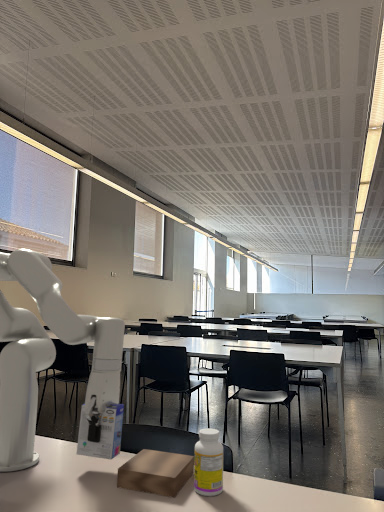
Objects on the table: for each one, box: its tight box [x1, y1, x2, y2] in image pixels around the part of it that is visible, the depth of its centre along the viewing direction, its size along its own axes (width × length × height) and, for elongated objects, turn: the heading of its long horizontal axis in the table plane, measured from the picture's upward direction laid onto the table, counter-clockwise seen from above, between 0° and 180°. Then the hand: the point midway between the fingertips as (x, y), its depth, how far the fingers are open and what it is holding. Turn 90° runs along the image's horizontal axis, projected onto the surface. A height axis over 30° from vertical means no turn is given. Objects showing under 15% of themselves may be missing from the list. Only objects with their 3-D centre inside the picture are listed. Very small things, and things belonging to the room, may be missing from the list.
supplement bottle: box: [193, 428, 224, 497], centre depth 89 cm, size 7×7×13 cm
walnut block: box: [116, 448, 195, 498], centre depth 93 cm, size 14×14×4 cm
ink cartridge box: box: [76, 403, 125, 461], centre depth 99 cm, size 10×6×14 cm, turn 78°
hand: (100, 437), depth 99 cm, fingers closed on ink cartridge box, 5 cm apart
